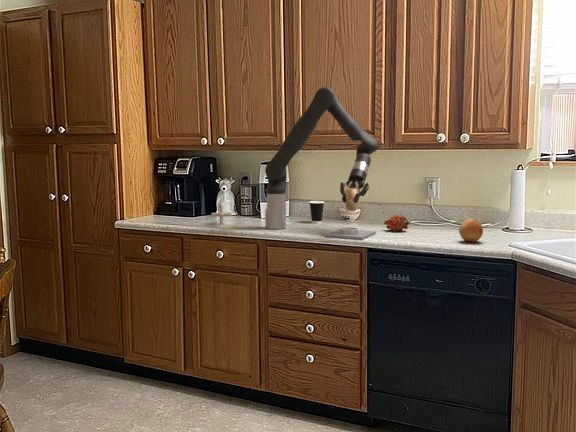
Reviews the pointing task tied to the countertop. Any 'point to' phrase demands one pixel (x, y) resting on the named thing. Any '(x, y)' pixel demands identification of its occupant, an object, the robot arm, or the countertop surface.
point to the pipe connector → (221, 214)
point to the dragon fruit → (397, 223)
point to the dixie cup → (316, 211)
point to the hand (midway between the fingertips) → (349, 201)
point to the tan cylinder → (350, 199)
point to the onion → (471, 230)
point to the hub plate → (350, 233)
